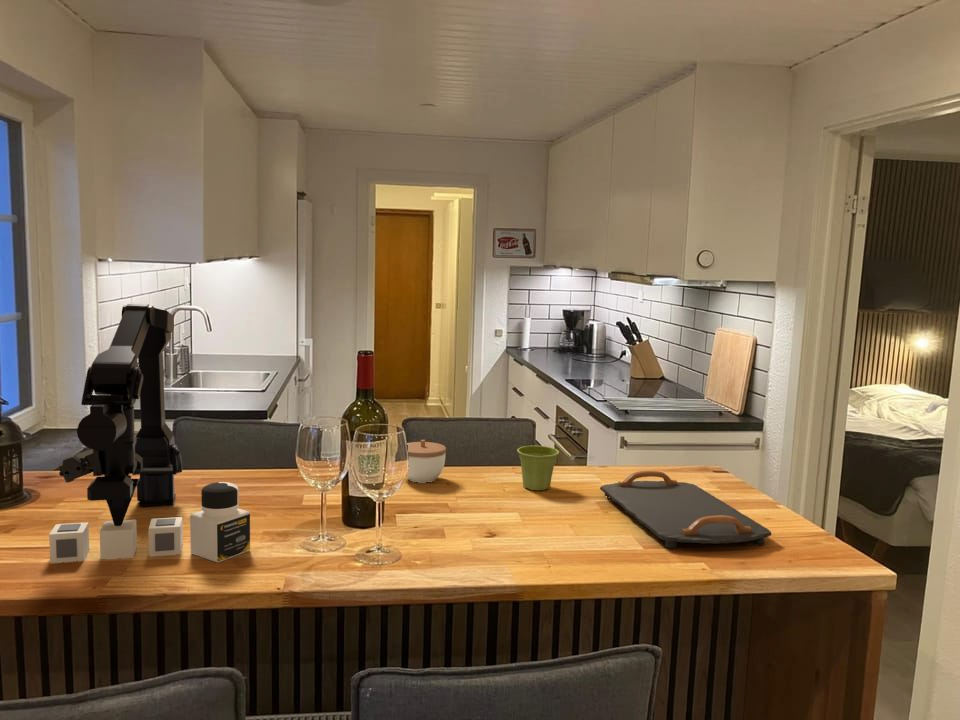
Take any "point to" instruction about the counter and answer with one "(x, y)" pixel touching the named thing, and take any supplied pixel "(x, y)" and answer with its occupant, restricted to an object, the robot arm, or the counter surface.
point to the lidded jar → (425, 461)
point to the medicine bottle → (220, 524)
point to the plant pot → (537, 466)
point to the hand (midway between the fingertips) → (118, 525)
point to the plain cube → (118, 540)
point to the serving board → (682, 511)
